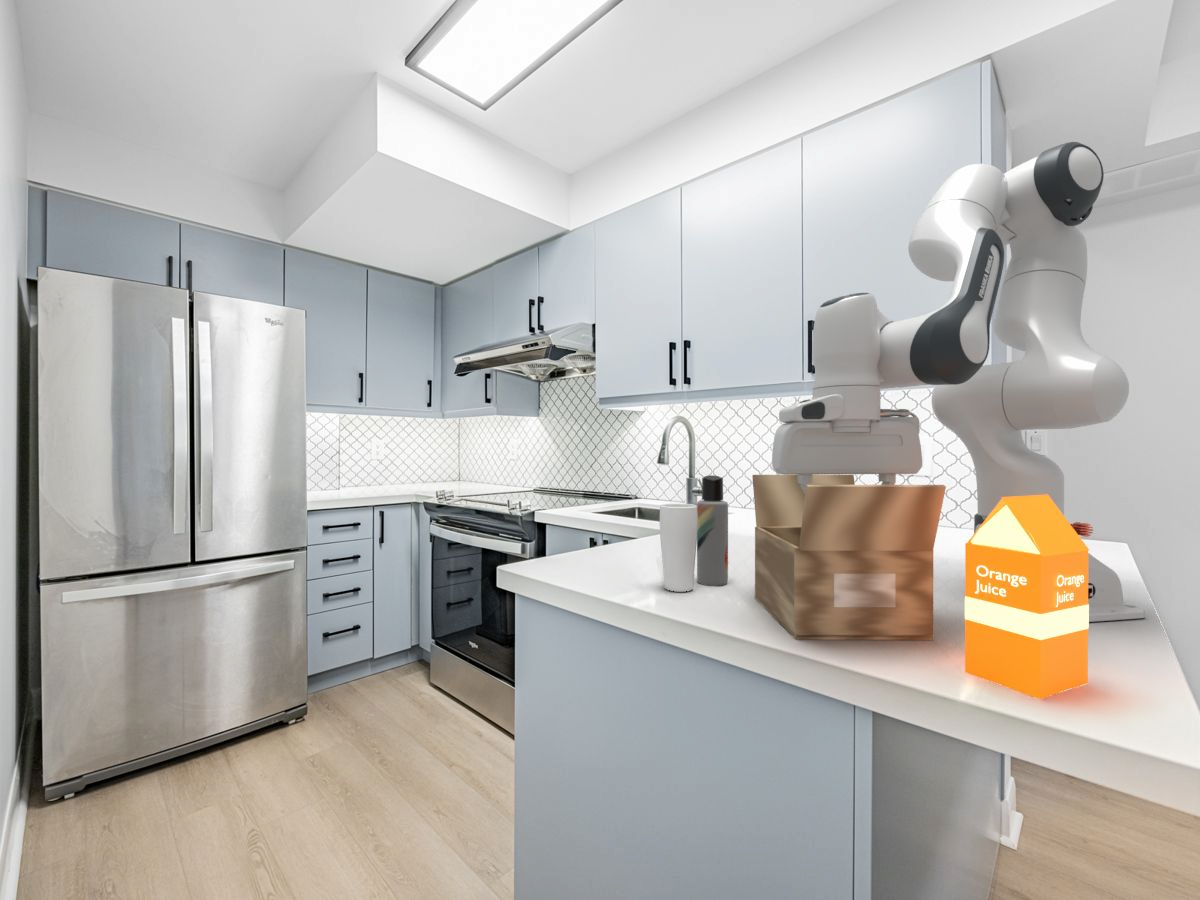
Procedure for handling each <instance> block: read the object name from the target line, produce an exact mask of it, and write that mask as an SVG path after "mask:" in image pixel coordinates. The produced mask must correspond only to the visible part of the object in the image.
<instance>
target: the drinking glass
mask: <svg viewBox="0 0 1200 900" xmlns="http://www.w3.org/2000/svg"><path fill="white" fill-rule="evenodd" d="M697 532H698V510H697V504H691V503H663V504H660V505H659V535H660V536H659V537H660V549H661V559H662V560H661V561H662V570H663V571H662V576H663V587H664V589H665V590H667V591H669V590H670V592H673V591H674V593H687V592H689V591H693V590H694V587H695V586H694V585H695V582H694V581H695V578H694V577H695V565H696V557H697ZM686 591H687V592H686Z"/></svg>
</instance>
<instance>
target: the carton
mask: <svg viewBox="0 0 1200 900" xmlns="http://www.w3.org/2000/svg"><path fill="white" fill-rule="evenodd" d="M800 535H801V527H756V526H755V527H754V599H755V600H756V601H757V602H758V603H759V604H760V605H761V606H762V607H763V608H764V609H765V610H766V611H767V612H768V613H769V614H770V615H771V616H772V617H773V618H774V619H775V621H777V622H778V623H779V624H780V625H781V626H782V627H783V628H784V629H785V631H787V632H788V634H790V635H791V636H792V637H793V638H794V639H795V640H829V641H830V640H837V641H838V640H842V641H843V640H845V641H846V640H853V641H855V640H857V641H858V640H859V641H860V640H861V641H862V640H865V641H867V640H869V641H871V640H872V641H873V640H874V641H875V640H876V641H879V640H880V641H881V640H882V641H885V640H889V641H890V640H891V641H895V640H898V641H906V640H907V641H911V640H912V641H933V640H934V550H933V551H800V549H799V543H800Z"/></svg>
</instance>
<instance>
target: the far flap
mask: <svg viewBox="0 0 1200 900" xmlns="http://www.w3.org/2000/svg"><path fill="white" fill-rule="evenodd" d="M751 477H752V486H753V488H752V490H753V499H754V500H753V501H754V512H755V527H802V518H803V510H804V502H805V493H804V492H803V490H802V488H801V487H800V485H799V483H798V475H784V474H752V476H751ZM808 483H809V482H808ZM809 485H856V484H855V474H813V482H810V483H809Z"/></svg>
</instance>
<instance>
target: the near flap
mask: <svg viewBox="0 0 1200 900" xmlns="http://www.w3.org/2000/svg"><path fill="white" fill-rule="evenodd" d="M946 488H947V486H946V485H944V484H894V485H881V484H855V485H806V494H805V502H804V510H803V518H802V527H801V535H800V543H799V549H800V551H933V552H934V547H935V543H936V537H937V533H938V527H939V522H940V519H941V513H942V508H943V505H944V504H943V503H944V498H945V493H946Z"/></svg>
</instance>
